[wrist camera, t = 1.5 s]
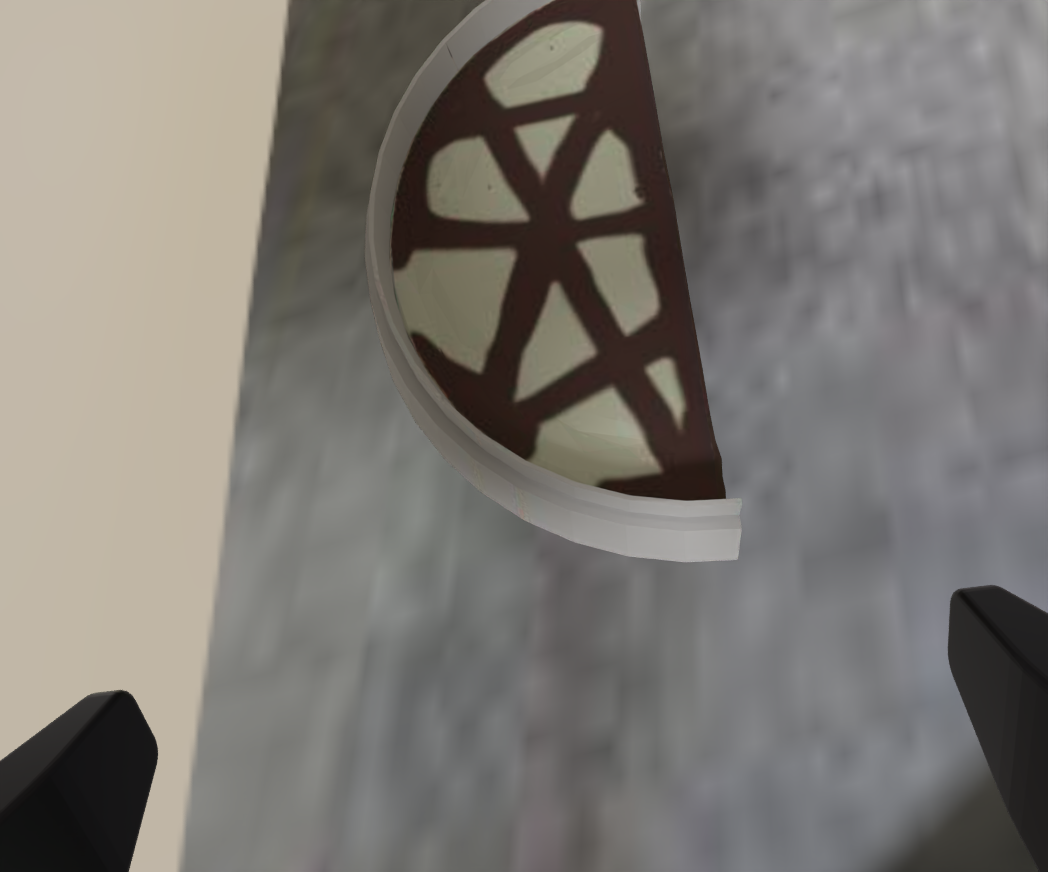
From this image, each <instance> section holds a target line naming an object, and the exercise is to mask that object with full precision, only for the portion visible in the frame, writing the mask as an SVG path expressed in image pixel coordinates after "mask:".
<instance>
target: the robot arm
mask: <svg viewBox="0 0 1048 872" xmlns="http://www.w3.org/2000/svg"><path fill="white" fill-rule="evenodd" d="M948 659H949V664H950V668H951V672H952V675H953V677H954V680H955V682H956V685H957V687H958V690H959V692H960V695H961V697H962V700H963V702H964V705H965V707H966V710H967V712H968V715H969V717H970V720H971V722H972V725H973V727H974V730H975V732H976V735H977V737H978V740H979V742H980V745H981V747H982V750H983V752H984V755H985V757H986V760H987V762H988V765H989V767H990V770H991V772H992V775H993V777H994V780H995V782H996V785H997V787H998V790H999V792H1000V795H1001V797H1002V799H1003V802H1004V804H1005V806H1006V809H1007V811H1008V813H1009V815H1010V817H1011V819H1012V821H1013V823H1014V825H1015V827H1016V829H1017V831H1018V833H1019V835H1020V837H1021V839H1022V841H1023V843H1024V844H1025V846H1026V848H1027V850H1028V852H1029V854H1030V856H1031V857H1032V859H1033V861H1034V863H1035V865H1036V867H1037V869H1038V870H1039V872H1048V613H1046V612H1045V611H1043V610H1041V609H1039V608H1037V607H1036V606H1034V605H1032V604H1030V603H1028V602H1027V601H1025V600H1023V599H1021V598H1019V597H1018V596H1016V595H1014V594H1012V593H1010V592H1009V591H1007V590H1005V589H1003V588H1001V587H999V586H995V585H987V586H978V587H970V588H962V589H958V590H956V591H955V592H954V593H953V595H952V597H951V601H950V616H949V636H948ZM157 759H158V748H157V743H156V740H155V737H154V735H153V733H152V731H151V729H150V727H149V726H148V724H147V722H146V720H145V718H144V716H143V714H142V712H141V710H140V708H139V706H138V704H137V702H136V700H135V699H134V697H133V696H132V695H131V694H129V692H127V691H123V690H116V691H107V692H99V693H94V694H91V695H88V696H87V697H85V698H84V699H82V700H81V701H80V702H78V703H77V704H76V705H74V706H73V707H72V708H70V709H69V710H68V711H66V712H65V713H64V714H62V715H61V716H60V717H58V718H57V719H56V720H54V721H53V722H51V723H50V724H49V725H48V726H46V727H45V728H43V729H42V730H41V731H39V732H38V733H37V734H36V735H35V736H33V737H31V738H30V739H29V740H28V741H26V742H25V743H23V744H22V745H21V746H20V747H18V748H17V749H15V750H14V751H13V752H11V753H10V754H9V755H8V756H6V757H5V758H4V759H2V760H1V761H0V872H129V868H130V864H131V861H132V857H133V853H134V849H135V845H136V841H137V838H138V834H139V830H140V826H141V822H142V819H143V814H144V811H145V807H146V803H147V799H148V796H149V792H150V788H151V784H152V780H153V776H154V773H155V769H156V765H157Z"/></svg>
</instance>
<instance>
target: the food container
mask: <svg viewBox="0 0 1048 872" xmlns="http://www.w3.org/2000/svg"><path fill="white" fill-rule="evenodd" d="M365 263H366V271H367V278H368V286H369V293H370V300H371V305H372V309H373V314H374V318H375V322H376V326H377V330H378V335H379V339H380V342H381V345H382V348H383V351H384V354H385V357H386V360H387V363H388V366H389V369H390V372H391V375H392V378H393V381H394V383H395V385H396V387H397V389H398V391H399V392H400V394H401V396H402V398H403V400H404V402H405V404H406V405H407V407H408V409H409V411H410V413H411V415H412V417H413V419H414V420H415V422H416V423H417V425H418V426H419V427H420V428H421V430H422V431H423V432H424V434H425V435H426V436H427V437H428V439H429V440H430V441H431V442H432V444H433V445H434V446H435V448H436V449H437V450H438V451H439V453H440V454H441V455H442V457H443V458H444V459H445V460H446V461H447V462H448V463H449V464H450V465H452V466H453V467H454V468H455V469H456V470H457V471H458V472H459V473H460V474H461V475H463V476H464V477H465V478H466V479H467V480H468V481H469V482H470V483H471V484H472V485H474V486H475V487H476V488H477V489H478V490H479V491H480V492H481V493H483V494H484V495H486V496H487V497H489V498H491V499H492V500H494V501H495V502H497V503H498V504H500V505H501V506H503V507H504V508H506V509H508V510H509V511H511V512H512V513H514V514H515V515H517V516H518V517H520V518H522V519H523V520H525V521H527V522H529V523H531V524H534V525H536V526H538V527H541V528H543V529H545V530H547V531H550V532H552V533H554V534H557V535H559V536H561V537H563V538H566V539H568V540H570V541H573V542H575V543H579V544H583V545H587V546H590V547H594V548H598V549H602V550H606V551H610V552H613V553H617V554H621V555H625V556H629V557H639V558H649V559H659V560H669V561H678V562H701V561H722V560H738V554H739V546H740V538H741V531H742V527H741V522H740V517H739V513H740V510H741V506H742V499H741V498H737V499H726V492H725V486H724V482H723V477H722V459H721V456H720V453H719V450H718V447H717V444H716V441H715V436H714V431H713V426H712V421H711V416H710V411H709V405H708V399H707V393H706V387H705V381H704V375H703V369H702V364H701V358H700V352H699V346H698V341H697V335H696V330H695V324H694V319H693V313H692V308H691V302H690V297H689V291H688V285H687V279H686V273H685V267H684V261H683V255H682V249H681V243H680V237H679V231H678V225H677V218H676V212H675V206H674V200H673V195H672V190H671V185H670V180H669V175H668V170H667V165H666V160H665V155H664V150H663V145H662V139H661V133H660V127H659V121H658V115H657V109H656V104H655V98H654V92H653V86H652V81H651V75H650V70H649V64H648V59H647V53H646V47H645V42H644V36H643V31H642V25H641V6H640V0H485V1H484V2H482V3H481V4H480V5H478V6H477V7H476V8H474V9H473V10H472V11H471V12H470V13H469V14H468V15H467V16H466V17H465V18H464V19H463V20H462V21H461V22H460V23H459V24H458V25H457V26H456V27H455V28H454V29H453V30H452V31H451V32H450V33H449V34H448V35H447V36H446V37H444V38H443V39H442V41H441V42H440V43H439V45H438V46H437V47H436V48H435V50H434V51H433V52H432V54H431V55H430V56H429V57H428V59H427V60H426V61H425V63H424V64H423V65H422V66H421V68H420V69H419V70H418V72H417V73H416V74H415V76H414V78H413V79H412V81H411V83H410V85H409V86H408V88H407V90H406V92H405V93H404V95H403V97H402V99H401V100H400V102H399V104H398V106H397V107H396V109H395V111H394V113H393V116H392V118H391V121H390V124H389V126H388V129H387V132H386V134H385V137H384V140H383V142H382V145H381V147H380V150H379V153H378V158H377V163H376V168H375V172H374V177H373V182H372V187H371V192H370V199H369V203H368V208H367V213H366V237H365Z"/></svg>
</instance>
